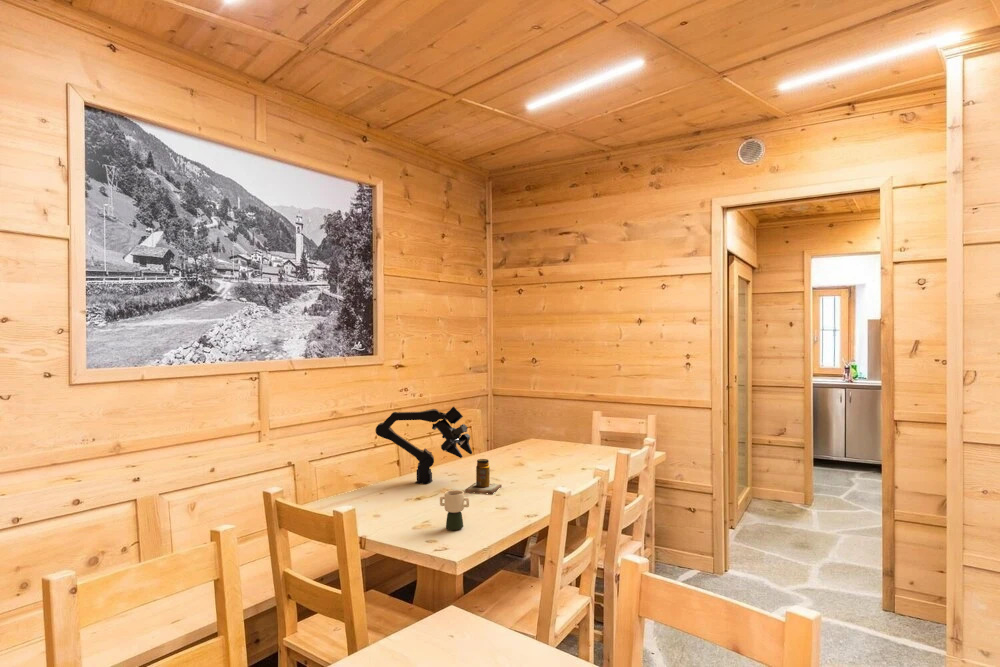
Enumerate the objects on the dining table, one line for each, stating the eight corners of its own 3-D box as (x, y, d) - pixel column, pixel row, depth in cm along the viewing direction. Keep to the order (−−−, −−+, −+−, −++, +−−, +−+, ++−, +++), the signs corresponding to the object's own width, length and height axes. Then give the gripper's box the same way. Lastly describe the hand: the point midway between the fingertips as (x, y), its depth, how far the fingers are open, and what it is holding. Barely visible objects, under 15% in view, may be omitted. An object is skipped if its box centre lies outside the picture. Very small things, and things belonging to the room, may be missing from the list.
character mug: (471, 526, 208) (471, 490, 208) (466, 532, 201) (466, 495, 201) (443, 524, 210) (442, 489, 210) (437, 531, 203) (436, 494, 203)
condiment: (492, 485, 261) (492, 458, 261) (485, 489, 253) (485, 462, 253) (478, 484, 264) (478, 457, 264) (470, 488, 256) (470, 461, 256)
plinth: (464, 492, 255) (464, 488, 255) (475, 485, 267) (475, 482, 267) (492, 494, 251) (492, 491, 251) (501, 487, 263) (501, 483, 263)
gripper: (446, 421, 263) (467, 447, 258) (466, 416, 280) (486, 441, 275) (432, 437, 267) (452, 463, 262) (453, 432, 284) (472, 456, 278)
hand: (466, 455), depth 269 cm, fingers open, 9 cm apart
